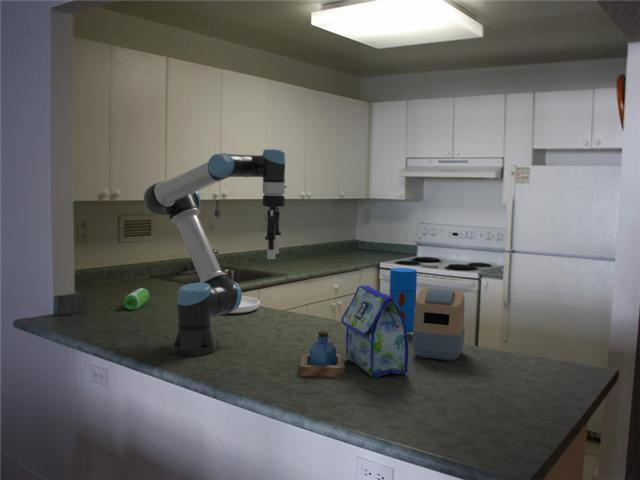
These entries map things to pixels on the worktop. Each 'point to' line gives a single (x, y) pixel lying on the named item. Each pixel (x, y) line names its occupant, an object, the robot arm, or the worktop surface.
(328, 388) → the worktop surface
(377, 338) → the lunch bag
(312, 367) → the wooden picture frame
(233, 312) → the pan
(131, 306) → the speaker
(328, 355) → the perfume bottle
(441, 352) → the alarm clock
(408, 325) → the thermos
